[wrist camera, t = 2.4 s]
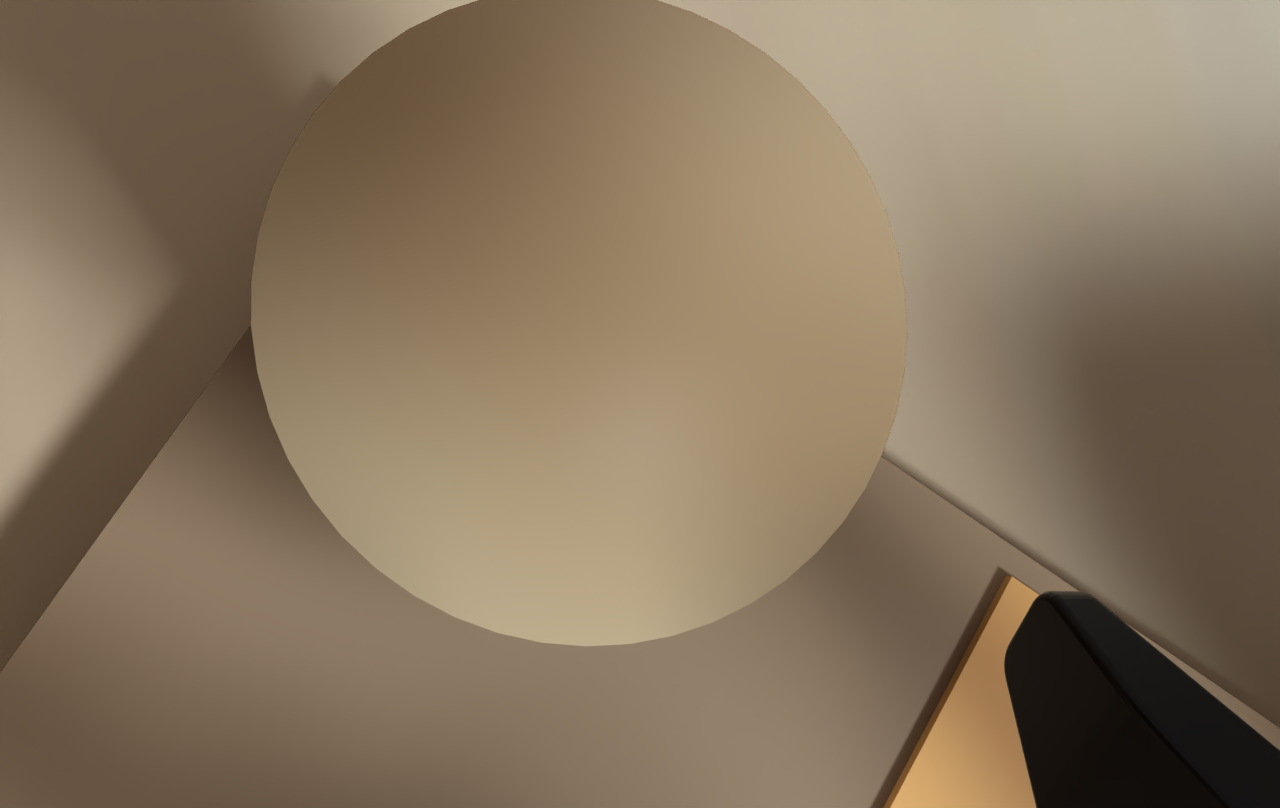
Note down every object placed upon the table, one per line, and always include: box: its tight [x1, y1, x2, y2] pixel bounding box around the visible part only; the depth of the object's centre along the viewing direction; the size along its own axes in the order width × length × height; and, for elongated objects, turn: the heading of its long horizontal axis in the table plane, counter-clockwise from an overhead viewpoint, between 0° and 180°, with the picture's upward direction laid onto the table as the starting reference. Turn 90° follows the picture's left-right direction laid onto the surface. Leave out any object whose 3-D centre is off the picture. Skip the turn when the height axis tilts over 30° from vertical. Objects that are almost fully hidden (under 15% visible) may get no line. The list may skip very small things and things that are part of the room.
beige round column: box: [251, 0, 907, 646], centre depth 12 cm, size 4×4×11 cm
